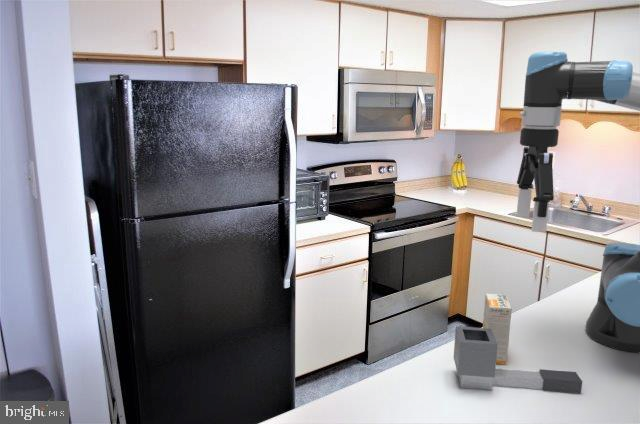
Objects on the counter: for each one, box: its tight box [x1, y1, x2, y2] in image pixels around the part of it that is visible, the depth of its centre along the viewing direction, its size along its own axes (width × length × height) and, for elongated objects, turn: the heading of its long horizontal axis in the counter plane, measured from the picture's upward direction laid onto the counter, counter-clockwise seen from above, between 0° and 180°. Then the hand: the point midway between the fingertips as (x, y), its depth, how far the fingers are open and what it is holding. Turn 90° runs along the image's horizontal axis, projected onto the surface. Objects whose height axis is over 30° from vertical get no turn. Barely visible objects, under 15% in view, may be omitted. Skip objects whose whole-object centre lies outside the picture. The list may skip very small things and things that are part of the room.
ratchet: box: [457, 368, 583, 395], centre depth 103 cm, size 23×6×7 cm, turn 82°
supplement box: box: [482, 293, 513, 365], centre depth 114 cm, size 8×5×13 cm, turn 168°
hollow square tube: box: [453, 326, 498, 378], centre depth 103 cm, size 7×7×7 cm
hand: (530, 223), depth 115 cm, fingers open, 13 cm apart
